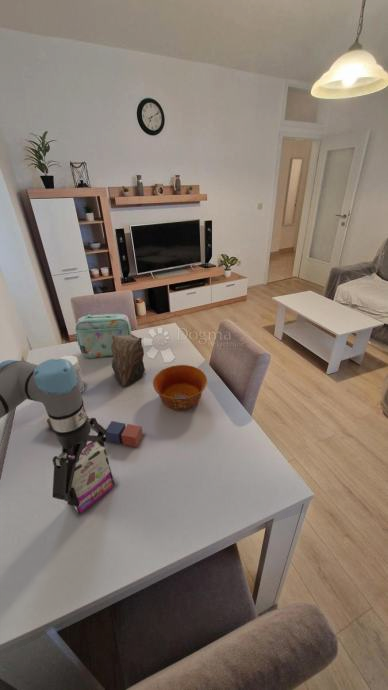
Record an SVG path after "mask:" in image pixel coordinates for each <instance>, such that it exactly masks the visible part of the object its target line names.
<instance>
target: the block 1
mask: <svg viewBox="0 0 388 690" xmlns="http://www.w3.org/2000/svg"><path fill="white" fill-rule="evenodd" d="M46 422H47V425H48V428H49V430H50V431H54V429H53V428H52V425H51V422H50V419H49V418H48V419H47V420H46Z"/></svg>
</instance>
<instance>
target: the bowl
mask: <svg viewBox="0 0 388 690" xmlns="http://www.w3.org/2000/svg"><path fill="white" fill-rule="evenodd" d="M207 383H208V378H207V375H206V374H205V372H204V371H203V370H201V369H200V368H197V367H195V366H193V365H187V364H177V365H172V366H168V367H166V368H163V369H161V370H159V372H158V373H156V375H155V376H154V378H153V381H152V386H153V390H154V391H155V392H156V394H158V395H159V398H160V400H161V402H162V404H163V405H164V406H166V407H167V408H169V409H172V410H179V411H180V410H187V409H190V408H192V407H194V406H195V405H197V404H198V403H199V402H200V400H201V398H202V393H203V391H204V390H205V389H206V387H207ZM181 395H182V396H183V397H181V398H179V396H181Z"/></svg>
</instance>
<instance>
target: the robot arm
mask: <svg viewBox="0 0 388 690" xmlns="http://www.w3.org/2000/svg"><path fill="white" fill-rule="evenodd" d="M27 400H29V401H34V402H39V403H41V404H43V407H44V408H45V411H46V413H47V416H48V419H50V422H51V425H52V428H53V429H54V430H53V432H54V435H55V438H56V440H57V442H58V443H59V444H60V446H61V453H60V454H59V456H57V455H55V456H53V458H52V464H53V481H52V496H51V497H52V498H53V499H57V500H61V501H64V502H67V505H69V506H73V507H74V506H76V507H78V506H79V505H80V503H79V500H78V498H77V495H76V492H75V490H74V488H72V482H73V477H74V472H75V467H76V463H77V462H78V461H79V457H80V454H81V452H82V450H83V449H84V448H85V447H86V445H87V444H88V442H92V441H98V442H99V443H100V444H101V445H102V446H103V447H104V448H105V447H106V445H105V444H106V442H108V441H107V438H106V436H105V435H106V434H107V430H106V429H107V428H104V427H103V426H102V425H101V424H100V423H98V421H97V419H96V417H91V416H88V413H87V409H86V406H85V403H84V399H83V395H82V392H81V391H80V387H79V383H78V377H77V375H76V373H75V370H74V368H73V365H72V363H71V362H70V361H68V360H66V359H61V357H59V359H58V358H57V359H56V358H50V359H46V360H44V361H42V362H40V363H39V364H36V363H31V362H29V361H25V360H16V359H15V360H14V359H7V360H4V361H1V362H0V419H2V418H3V417H5V416H6V415H8V414H9V413H11V411H13V410H14V409H15V408H17V407H18V406H19V405H21V404H22V403H23V402H25V401H27ZM91 431H94V432H95V433H96V434H90V433H91ZM105 449H106V448H105ZM69 456H75V458H70V457H69Z"/></svg>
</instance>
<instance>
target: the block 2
mask: <svg viewBox="0 0 388 690" xmlns="http://www.w3.org/2000/svg"><path fill="white" fill-rule="evenodd" d="M126 426H127V425H126V423H124V422H118V421H114V420H111V421H110V423H109V424H108V426H107V427H106V428H105V429H106V430H107V434H106V435H104V437H106V438H107V441H106V442H110V443H113V444H118V445H119V444H121V443H122V437H121V435H122V433H123V431H124V430H125V428H126Z"/></svg>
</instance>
